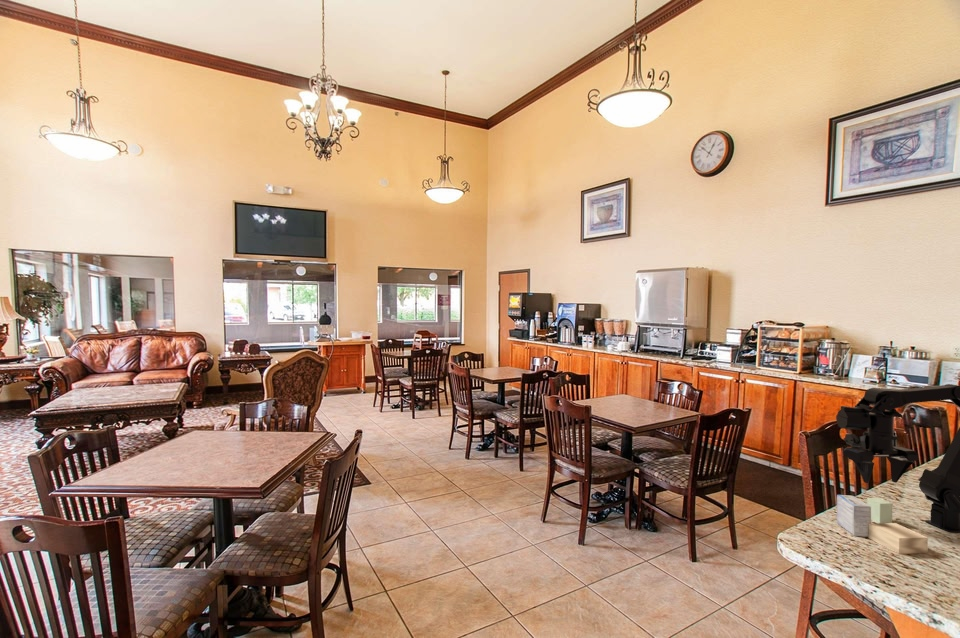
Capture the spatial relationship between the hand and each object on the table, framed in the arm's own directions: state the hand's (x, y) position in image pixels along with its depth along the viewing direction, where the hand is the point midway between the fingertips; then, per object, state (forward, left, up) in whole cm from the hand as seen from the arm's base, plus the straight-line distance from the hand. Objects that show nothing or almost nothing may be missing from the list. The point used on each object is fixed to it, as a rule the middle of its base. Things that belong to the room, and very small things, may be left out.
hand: (880, 482), depth 130 cm
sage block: (0, 0, -12) cm, 12 cm away
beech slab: (+10, +14, -11) cm, 21 cm away
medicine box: (+14, +5, -12) cm, 19 cm away
